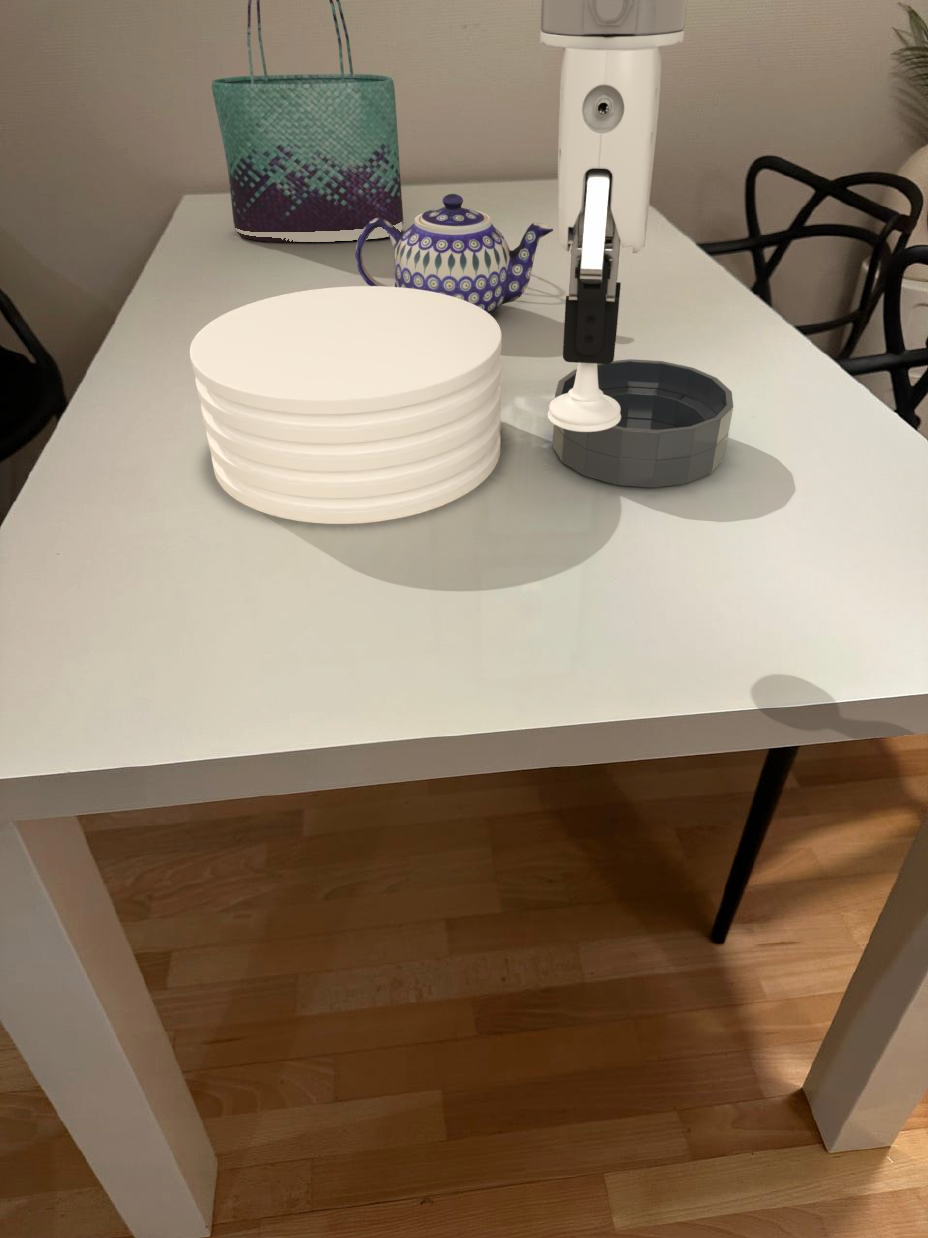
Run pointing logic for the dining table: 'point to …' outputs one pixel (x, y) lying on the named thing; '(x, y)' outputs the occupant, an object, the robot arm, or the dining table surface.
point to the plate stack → (351, 402)
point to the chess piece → (585, 404)
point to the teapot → (458, 255)
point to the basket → (309, 148)
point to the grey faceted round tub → (651, 425)
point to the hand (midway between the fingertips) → (589, 350)
